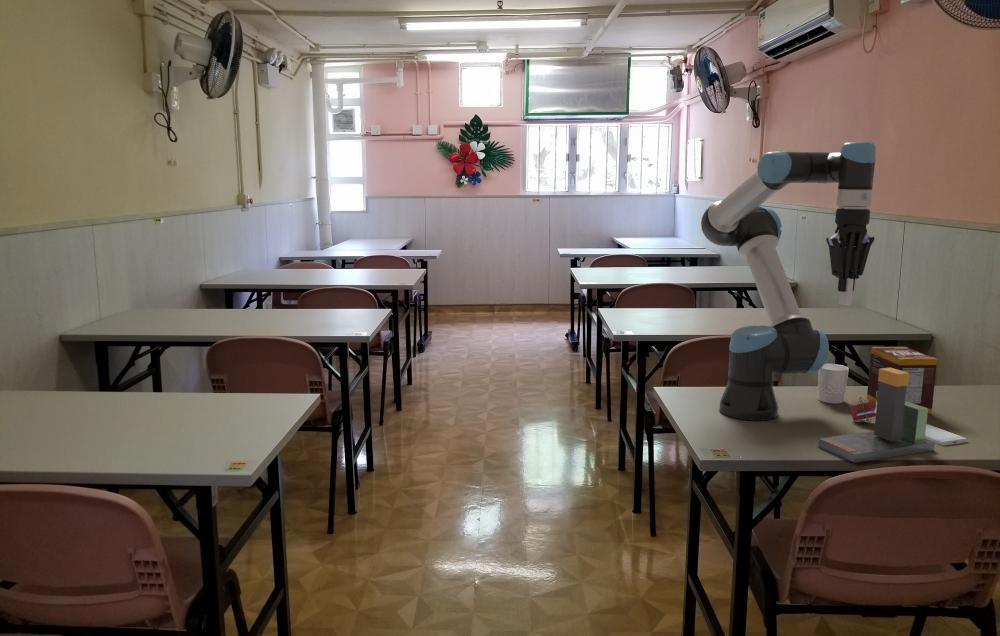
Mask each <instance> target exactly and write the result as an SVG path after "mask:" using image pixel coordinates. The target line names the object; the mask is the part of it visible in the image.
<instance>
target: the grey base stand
mask: <svg viewBox="0 0 1000 636" xmlns="http://www.w3.org/2000/svg"><path fill="white" fill-rule="evenodd" d="M928 415H929V414H928V408H925V407H922V406H919V405H916V404H913V403H910V402H907V401H905V406H904V416H903V425H902V435H901V440H897V441H889V440H886V439H884V438H881V437H879V436H876V435H874V430H871V431H864V432H857V433H849V434H843V435H841V434H840V435H835V436H830V437H829V436H828V437H820V438H818V445H817V447H819V448H820V449H822V450H824V451H828V452H830V453H831V454H834V455H836V456H838V457H839V458H842V459H845V460H847V461H848V462H851V463H854V464H855V463H862V462H868V461H875V460H880V459H887V458H892V457H893V458H894V457H900V456H901V457H902V456H907V455H912V454H918V453H919V454H920V453H925V452H926V453H927V452H933V451H932V450H934V451H935V444H936V443H935V442H932V441H930V440H927V439H925V432H926V424H928V423H927V420H928Z"/></svg>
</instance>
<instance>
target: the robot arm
mask: <svg viewBox="0 0 1000 636" xmlns="http://www.w3.org/2000/svg"><path fill="white" fill-rule="evenodd" d="M876 153H877V152H876V145H875V143H873V142H869V141H868V142H867V141H858V142H857V141H853V142H844V143H843V144H842V145H841V147H840V151H829V152H827V151H824V152H823V151H822V152H821V151H783V150H779V151H769V152H765V153H764V154H763V155H761V157H760V160H759V161H758V163H757V170H756V171H755V172H754V173H753V174H752V175H751V176H749V177H748V178H747V179H746V180H745V181H744V182H742V183H741V184H740V185H738V187H737V188H735V189H734V190H733V191H732V192H731V193H729V194H728V195H727V196H726V197H725V198H724V199H722V200H718V201H716V202H713V203H712V204H710V205H709V207H708V208H707V209H706V210H705V211H704V213H703V214H702V217H701V222H700V226H701V232H702V233H703V235H704V237H705V238H706V240H708V241H709V242H710V243H711V244H714V245H717V246H721V247H736V248H737V252H738V254H739V256H740V257H742V258H744V259H746V261H747V263H748V267H749V269H750V272H751V274H752V277H753V281H754V283H755V285H756V289H757V291H758V294H759V297H760V300H761V302H762V306H763V307H764V310H765V313H766V316H767V320H768V322H769V325H770V326H769V325H748V326H743V327H739V328H738V329H735V330H734V331H733V332H732V333H731V335H730V341H729V346H728V349H729V356H728V357H729V358H728V373H727V384H726V386H725V389H724V390H723V393H722V396H721V398H720V401H719V411H720V413H722V414H724V415H725V416H728V417H731V418H735V419H739V420H748V421H768V420H772V419H775V418H777V417H778V413H779V405H778V402H777V398H776V395H775V390H774V387H773V386H774V375H785V374H787V375H788V374H807V373H812V372H817V371H819V369H820V368H822V367H823V365H824V364H826V362H827V360H828V356H829V352H830V351H829V349H830V347H829V339H828V336H827V335H826V334H825V332H824V331H822V330H821V329H818V328H813V325H812V322H811V320H810V318H807V317H806V316H803V315H802V313H801V311H800V307H799V305H798V302H797V299H796V297H795V295H794V293H793V290H792V287H791V285H790V281H789V279H788V277H787V274H786V271H785V269H784V266H783V264H782V260H781V259H780V256H779V253H778V251H777V247H778V245H779V242H780V239H781V236H782V229H781V228H782V227H783V226H782V222H781V221H782V220H781V218H780V216H779V214H778V213H777V212H776V211H775V210H774V209H772V208H770V207H766V206H765V207H764V206H761V205H763V203H765V202H766V201H768V200H769V199H771V198H772V197H773V196H774V195H775V194H777V193H778V192H779V191H781V190H782V189H783V188H785V187H786V186H788V185H789V184H793V183H795V184H796V183H797V184H799V183H800V184H802V183H803V184H804V183H805V184H807V183H809V184H811V183H812V184H837V183H838V184H837V195H836V196H837V197H836V206H837V207H838V208H836V210H835V219H834V223H835V224H836V229H835V231H834V234H833V235H831V236H827V237H826V240H825V241H826V243H827V246H828V249H829V250H828V251H829V259H830V260H829V261H830V268H831V270H830V271H831V275H832V276H834V277H835V278H838V282H837V291H838V301H837V302H838V303H837V305H843V306H847V307H848V306H852V303H853V302H852V300H853V292H854V291H855V284H856V280H858V279H860V276H861V277H862V276H863V274H864V271H865V267H866V265H867V261H868V257H869V253H870V250H871V246H872V244H873V243H874V241H875V240H876V239H875V237H874V236H870V235H869V234H868V230H867V226H868V225H870V219H871V210H870V209H869V207H871V206H872V195H873V184H874V177H875V176H874V174H875V165H876V161H877V159H876Z"/></svg>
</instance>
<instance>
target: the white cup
mask: <svg viewBox="0 0 1000 636" xmlns="http://www.w3.org/2000/svg"><path fill="white" fill-rule="evenodd" d="M849 370H850V369H849V367H848V366H846V365H841V364H836V363H825V364H824V365H823V367H822V368H820V369H819V370H818V374H817V375H818V377H817V387H818V388H817V391H818V392H817V393H818V394H817V395H818V397H817V400H819V401H821V402H822V403H827V404H836V405H837V404H843V403H844V401H845V394H846V389H847V384H848V376H849Z"/></svg>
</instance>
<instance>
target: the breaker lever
mask: <svg viewBox="0 0 1000 636" xmlns="http://www.w3.org/2000/svg"><path fill="white" fill-rule="evenodd" d="M878 381H879V390H878V400H877V410H876V416H875V417H876V418H875V419H876V420H875V419H874V421H875V423H874V430H873V431H874V435H876V436H879V437H881V438H884V439H886V440H889V441H897V440H901V435H902V425H903V416H904V406H905V397H906V388H907V386H908V382H909V373H908V372H904V371H901V370H897V369H894V368H881V369H879V376H878Z"/></svg>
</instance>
